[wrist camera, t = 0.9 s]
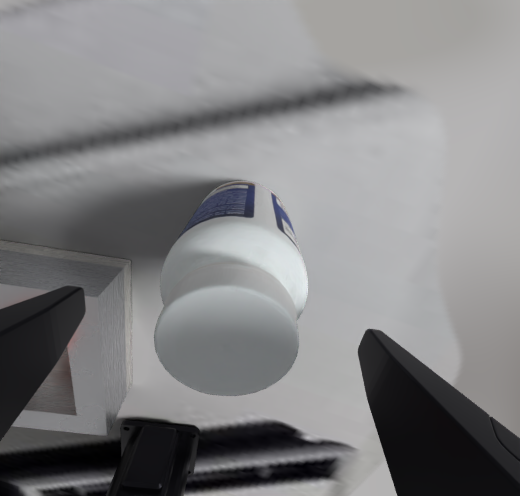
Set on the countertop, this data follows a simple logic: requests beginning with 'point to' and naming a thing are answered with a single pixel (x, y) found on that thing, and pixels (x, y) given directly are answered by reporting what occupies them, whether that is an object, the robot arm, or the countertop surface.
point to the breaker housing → (76, 336)
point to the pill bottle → (232, 294)
